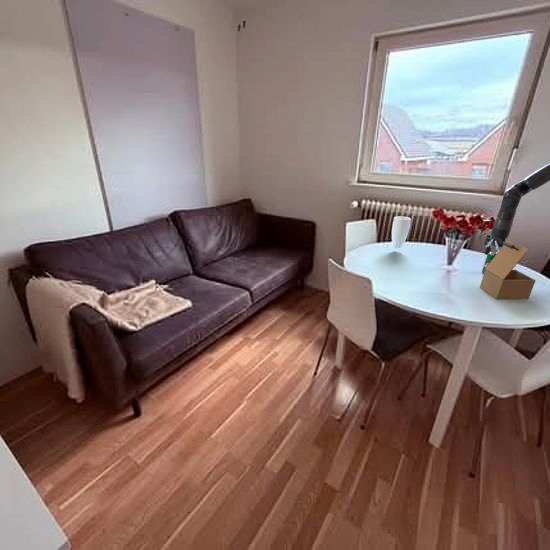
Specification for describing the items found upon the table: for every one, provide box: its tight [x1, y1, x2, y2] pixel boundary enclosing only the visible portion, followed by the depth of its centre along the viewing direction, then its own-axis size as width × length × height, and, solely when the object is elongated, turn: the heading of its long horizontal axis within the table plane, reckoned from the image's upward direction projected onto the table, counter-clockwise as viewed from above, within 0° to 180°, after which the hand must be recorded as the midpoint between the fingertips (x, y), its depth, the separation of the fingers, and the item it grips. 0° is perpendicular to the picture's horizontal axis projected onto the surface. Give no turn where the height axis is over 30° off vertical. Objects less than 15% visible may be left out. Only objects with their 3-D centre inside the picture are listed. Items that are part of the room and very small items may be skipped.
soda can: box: [481, 250, 498, 275], centre depth 165 cm, size 5×5×12 cm
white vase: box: [391, 215, 412, 249], centre depth 193 cm, size 10×10×22 cm
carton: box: [479, 269, 537, 300], centre depth 144 cm, size 15×12×10 cm
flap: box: [485, 239, 530, 280], centre depth 139 cm, size 16×12×5 cm
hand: (491, 257), depth 164 cm, fingers open, 8 cm apart
